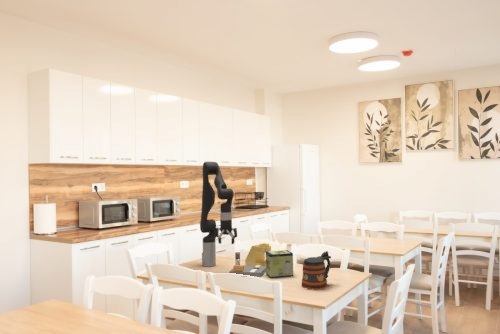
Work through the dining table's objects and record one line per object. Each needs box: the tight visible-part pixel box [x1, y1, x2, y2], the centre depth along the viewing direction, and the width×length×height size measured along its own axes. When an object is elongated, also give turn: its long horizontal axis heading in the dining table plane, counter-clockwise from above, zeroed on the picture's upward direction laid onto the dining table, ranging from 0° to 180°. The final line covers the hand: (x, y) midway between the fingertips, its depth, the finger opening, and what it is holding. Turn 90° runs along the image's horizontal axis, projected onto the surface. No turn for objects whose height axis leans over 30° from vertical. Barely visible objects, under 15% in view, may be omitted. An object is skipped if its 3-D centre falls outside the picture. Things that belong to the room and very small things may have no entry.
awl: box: [234, 251, 241, 265], centre depth 284 cm, size 3×3×10 cm
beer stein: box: [301, 250, 332, 290], centre depth 244 cm, size 19×15×20 cm
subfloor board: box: [228, 264, 266, 278], centre depth 280 cm, size 21×19×3 cm
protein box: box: [265, 249, 294, 279], centre depth 271 cm, size 10×16×16 cm
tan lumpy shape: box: [244, 242, 272, 266], centre depth 301 cm, size 20×9×16 cm, turn 42°
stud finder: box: [232, 264, 245, 271], centre depth 275 cm, size 6×4×3 cm, turn 75°
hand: (226, 243), depth 278 cm, fingers open, 8 cm apart
